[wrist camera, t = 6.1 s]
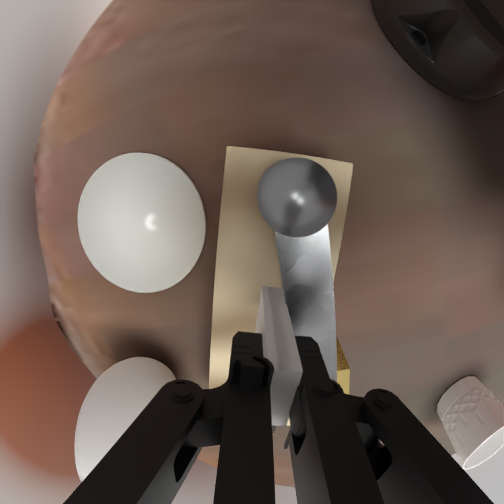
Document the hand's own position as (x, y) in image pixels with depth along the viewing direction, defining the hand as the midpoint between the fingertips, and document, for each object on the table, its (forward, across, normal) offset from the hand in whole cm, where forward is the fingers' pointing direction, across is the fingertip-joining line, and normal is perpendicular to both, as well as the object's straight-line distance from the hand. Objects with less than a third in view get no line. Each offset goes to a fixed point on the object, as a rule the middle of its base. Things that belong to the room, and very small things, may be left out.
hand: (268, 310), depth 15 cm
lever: (+2, +2, +1) cm, 3 cm away
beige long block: (+8, 0, -2) cm, 8 cm away
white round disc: (+8, -10, +2) cm, 13 cm away
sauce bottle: (+8, -9, -12) cm, 17 cm away
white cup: (+7, +27, -15) cm, 32 cm away
